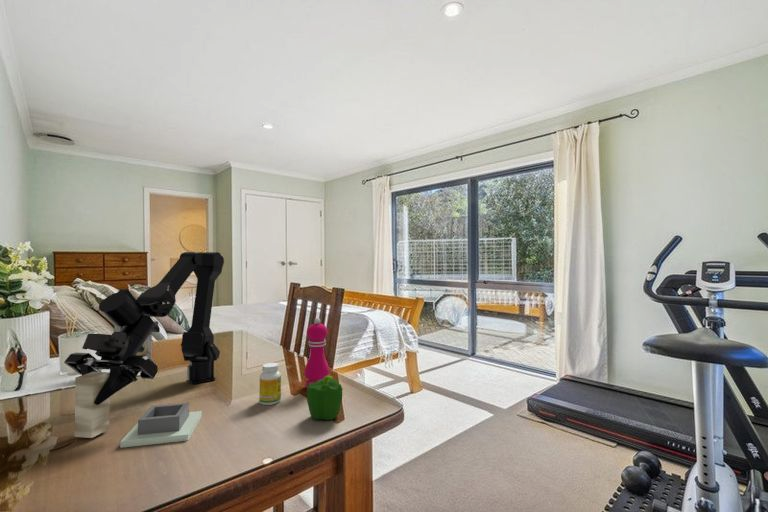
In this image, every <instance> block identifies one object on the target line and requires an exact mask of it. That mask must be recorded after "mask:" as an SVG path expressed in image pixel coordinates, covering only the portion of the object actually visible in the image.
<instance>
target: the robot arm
mask: <svg viewBox="0 0 768 512" xmlns="http://www.w3.org/2000/svg"><path fill="white" fill-rule="evenodd" d="M224 264H225V259H224V256H222V254H221V253H220V252H217V251H209V252H207V251H200V252H198V251H184V252H181V254H179V257H178V260H177V261H176V262H175V263H174V264H173V266H171V268H170V269H169V270H168V271H167V273H165V275H164V276H163V277H162V279H161V280H160V281H159V282H158V283H156V285H154V286H152V287H150V288H148V289H145V291H144V292H142V294H140V295H139V296H138V297H137V299H136V298H135V296H134V295H133V294H132V292H131V291H130V290H129V288H127V289H126V288H120V289H118V291H117V292H115V293H112V294H110V295H109V296H107V297H105V298H102V300H101V301H100V302H99V304H98V310H99V311H100V312H101V313H102V314H103V315H104V316H105V317H106V318H107V319H108V320H109V321H110V322H111V323H113V324H114V326H115V325H116V326H119V327H121V326H123V328H122V329H121V331H120V332H114V331H113V332H112V333H111V334H109V333H108V334H106V333H105V334H104V333H87V335H86V338H85V340H84V343H83V345H82V349H83V350H91V351H95V353H94V354H95V355H96V356H97V357H100V359H97V358H96V357H95V356H93V355H92V354H91V353H89V352H74V353H70V354H68V356H67V358H66V359H65V360H64V364H65V365H66V366H68V367H69V368H71V369H72V370H73V371H75V372H76V373H78V375H80V376H82V375H85V374H88V373H91V372H102V371H103V370H109V373H110V375H109V378H108V379H107V381H106V382H105V384H104V386H103V387H102V389H101V390H100V392H99V394H98V395H97V397H96V399H95V401H94V404H96V405H99V404H101V403H102V402H103V401H105V400H106V399H108V398H109V397H112V396H113V395H115V394H116V393H118V392H119V391H121V390H122V389H123V388H125V387H127V386H128V385H130V384H132V383H133V382H137V381H138V377H137V376H138V375H139V376H140V378H141V379H144V380H146V379H147V380H153V379H154V378H155V376H156V375H157V374H158V371H159V370H158V369H159V367H158V365H157V364H156V363H155V362H154V361H153V360H152V358H151V359H150V358H149V357H148V356H141V355H136V354H137V353H138V352H143V351H144V349H145V348H144V347H143V346H142V345H143V344H144V342H145V341H146V339H147V338H148V336H149V334H150V333H151V332H152V333H159V332H161V329H160V325H159V321H158V320H157V321H156V320H154V319H152V318H165V317H167V316H168V315H169V314H170V313H171V312H172V309H173V308H174V306H175V304H176V295H177V293H178V292H179V290H180V289H181V288H182V287H183V285H184V284H185V282H186V281H187V280H188V278H190V276H191V275H192V273H193V274H194V275H195V277H196V289H195V297H194V303H193V311H192V318H191V326H190V327H189V329H188V330H187V331H184V332H183V333H182V335H181V336H182V337H181V344H180V348H181V349H180V350H181V353H182V357H183V360H184V361H185V362H188V361H189V365H187V370H186V373H187V377H186V378H187V380H188V381H189V383H191V384H192V385H196V383H197V384H200V383H201V382H202V383H206V382H205V381H207V382H212V381H216V380H217V379H216V377H215V361H218V359H219V358H220V354H221V350H219V348H218V347H217V345H216V344H215V336H214V334H213V332H212V329H211V327H210V326H211V325H210V323H211V316H212V308H213V307H212V306H213V300H214V293H215V292H214V291H215V282H216V281H217V279H218V278H219V276H220V275H221V274H222V271H223V267H224ZM215 379H216V380H215ZM211 380H212V381H211Z"/></svg>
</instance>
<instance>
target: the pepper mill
mask: <svg viewBox="0 0 768 512" xmlns="http://www.w3.org/2000/svg"><path fill="white" fill-rule="evenodd" d="M313 322H314V323H313V324H312V323H311V325H309V326H308V328H307V330H306V336H307V338H308V339H309V340H308V346H309V351H310V352H309V353H310V354H309V358H308V360H307V362H306V365H305V366H304V373H303V374H304V376H305V378H306V379H307V380H306V381H305V388H306V389H307V387H308V384H309V383H313V382H317V381H319V380H321V379H324V377H326V376H327V375H329V376H330V367H329V363H328V361H327V359H326V356H325V346H326V344H327V343H326V342H327V340H326V337H327V336H328V331H329V330H328V328H327V326H326V325H325V324H323V323H321V319H320V318H319V317H317V318H314V321H313Z"/></svg>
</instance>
